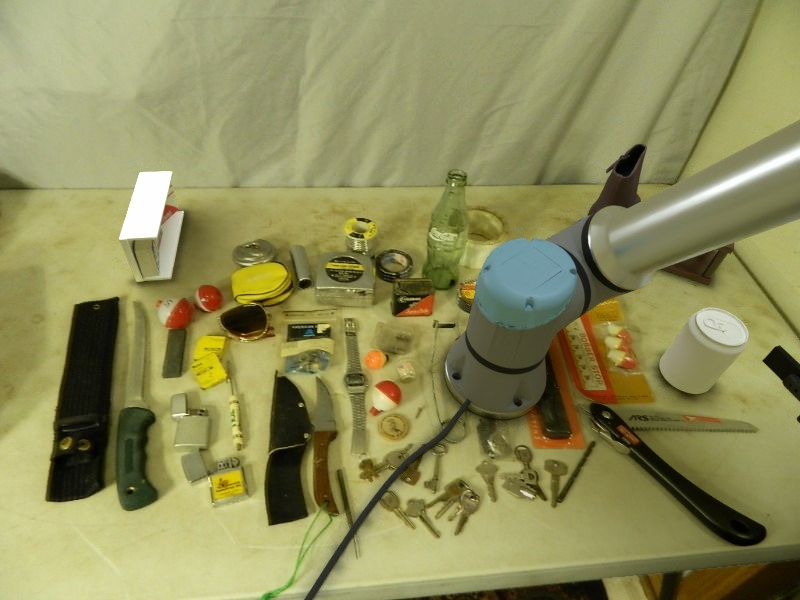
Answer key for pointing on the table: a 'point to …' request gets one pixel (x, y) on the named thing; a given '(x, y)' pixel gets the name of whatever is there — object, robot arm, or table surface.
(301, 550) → the table surface
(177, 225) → the cigarette display
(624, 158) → the boot
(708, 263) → the rack
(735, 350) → the beverage can
